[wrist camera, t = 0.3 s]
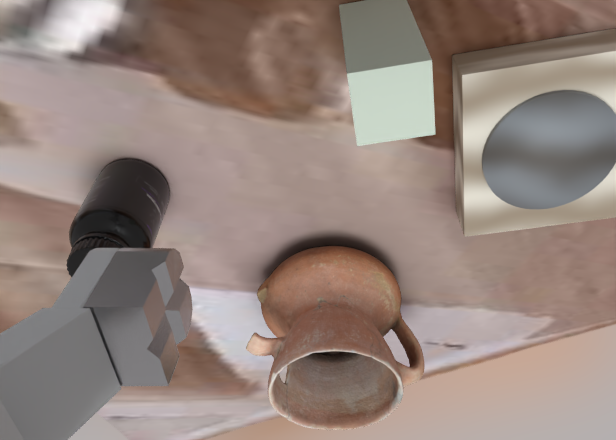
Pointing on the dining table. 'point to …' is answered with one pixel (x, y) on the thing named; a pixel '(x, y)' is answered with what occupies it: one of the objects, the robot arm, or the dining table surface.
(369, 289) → the ceramic jug
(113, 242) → the supplement bottle
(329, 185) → the dining table surface
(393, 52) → the sage block
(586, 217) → the birch base
